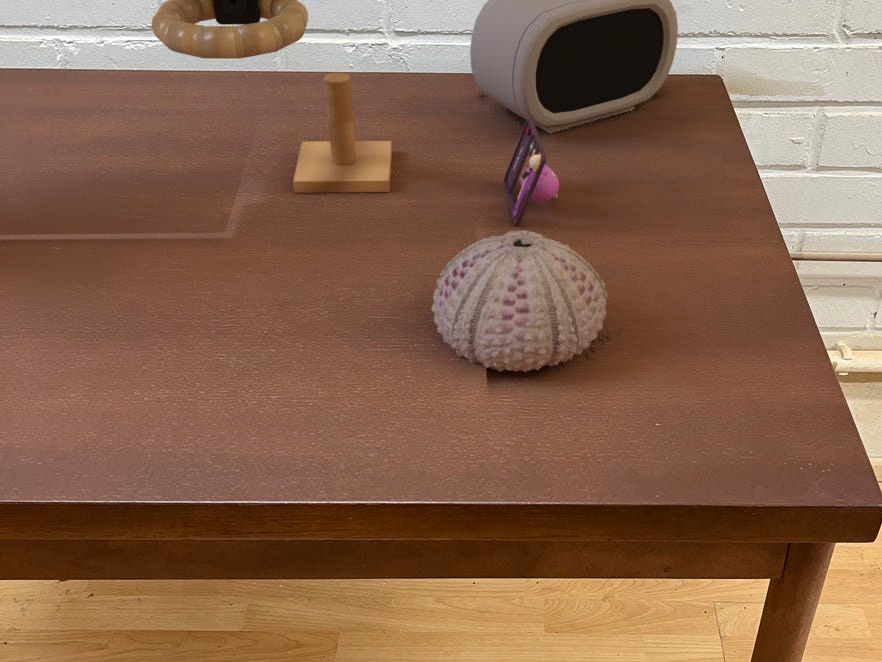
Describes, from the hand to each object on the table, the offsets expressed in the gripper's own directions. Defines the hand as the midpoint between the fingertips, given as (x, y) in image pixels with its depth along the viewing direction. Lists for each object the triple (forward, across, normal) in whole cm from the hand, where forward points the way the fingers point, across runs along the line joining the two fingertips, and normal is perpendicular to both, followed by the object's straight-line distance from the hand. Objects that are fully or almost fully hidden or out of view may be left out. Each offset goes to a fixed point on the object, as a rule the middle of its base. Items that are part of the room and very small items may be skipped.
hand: (241, 14), depth 75 cm
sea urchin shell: (+19, +14, +20) cm, 31 cm away
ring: (-1, +4, 0) cm, 4 cm away
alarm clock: (+19, -30, +29) cm, 46 cm away
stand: (+19, -15, +5) cm, 25 cm away
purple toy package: (+19, -8, +23) cm, 31 cm away
